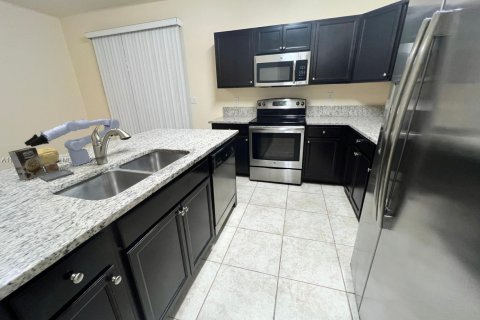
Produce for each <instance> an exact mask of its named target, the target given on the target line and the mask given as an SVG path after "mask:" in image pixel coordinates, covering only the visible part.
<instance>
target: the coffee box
mask: <svg viewBox="0 0 480 320" xmlns="http://www.w3.org/2000/svg"><path fill="white" fill-rule="evenodd" d="M37 151H38V149H37V148H36V147H25V148H20V149H16V150H11V151H8V155H9V157H10V159H11V162H12V164H13V167H14V169H15V172H16V174H17V176H18V178H19V180H21V181H30V180H32V179H35V178H37V177H39V176H40V175H43V174H47V173H46V171H45V168H44V166H43V165H44V164H42V163H41V160H40V157H39V155H38V152H37Z"/></svg>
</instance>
